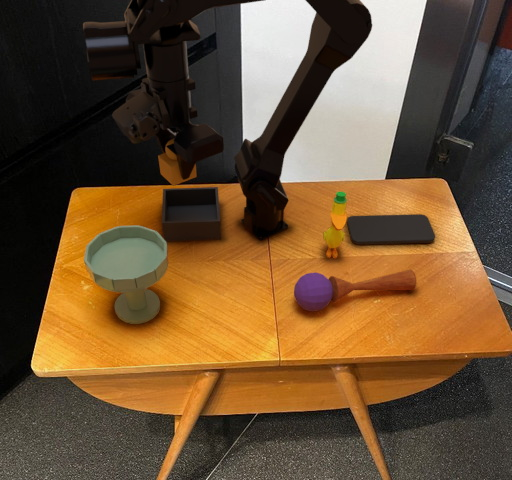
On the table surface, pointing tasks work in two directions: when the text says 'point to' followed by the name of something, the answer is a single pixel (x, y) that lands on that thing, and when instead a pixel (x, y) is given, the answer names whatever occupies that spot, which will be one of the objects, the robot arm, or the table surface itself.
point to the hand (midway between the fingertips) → (178, 172)
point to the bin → (191, 214)
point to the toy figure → (336, 224)
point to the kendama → (344, 287)
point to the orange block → (172, 167)
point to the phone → (390, 229)
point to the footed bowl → (129, 269)
